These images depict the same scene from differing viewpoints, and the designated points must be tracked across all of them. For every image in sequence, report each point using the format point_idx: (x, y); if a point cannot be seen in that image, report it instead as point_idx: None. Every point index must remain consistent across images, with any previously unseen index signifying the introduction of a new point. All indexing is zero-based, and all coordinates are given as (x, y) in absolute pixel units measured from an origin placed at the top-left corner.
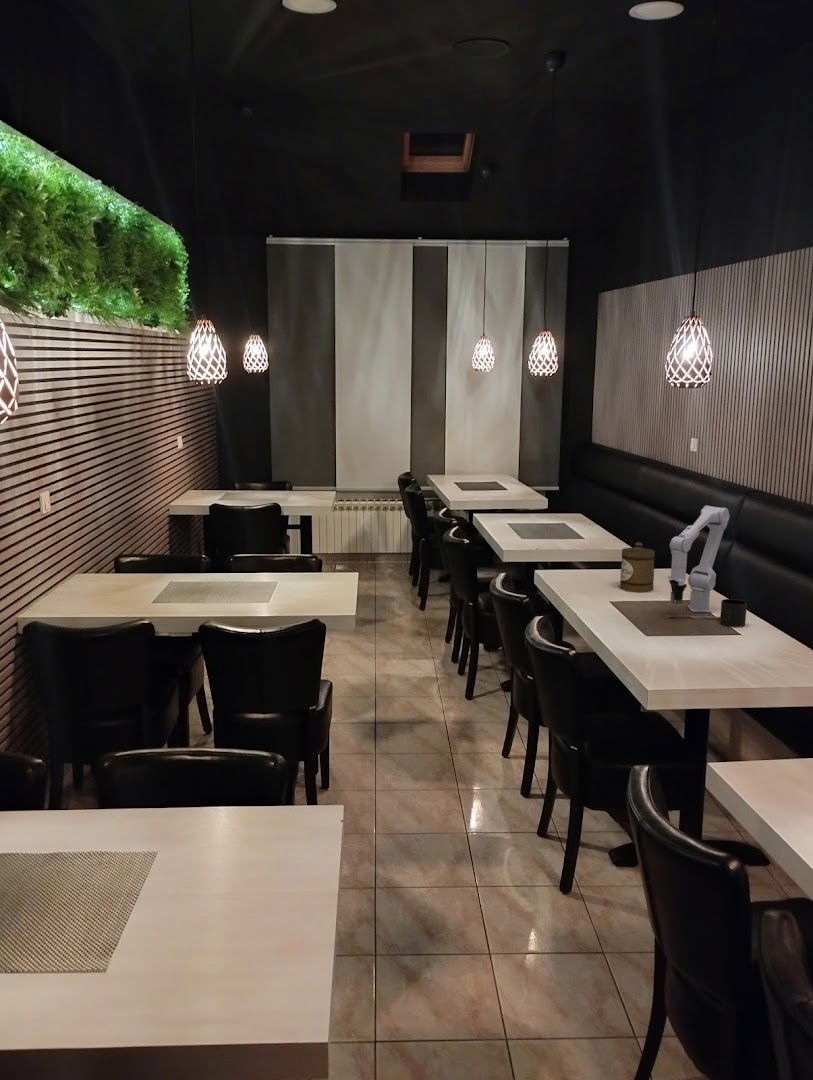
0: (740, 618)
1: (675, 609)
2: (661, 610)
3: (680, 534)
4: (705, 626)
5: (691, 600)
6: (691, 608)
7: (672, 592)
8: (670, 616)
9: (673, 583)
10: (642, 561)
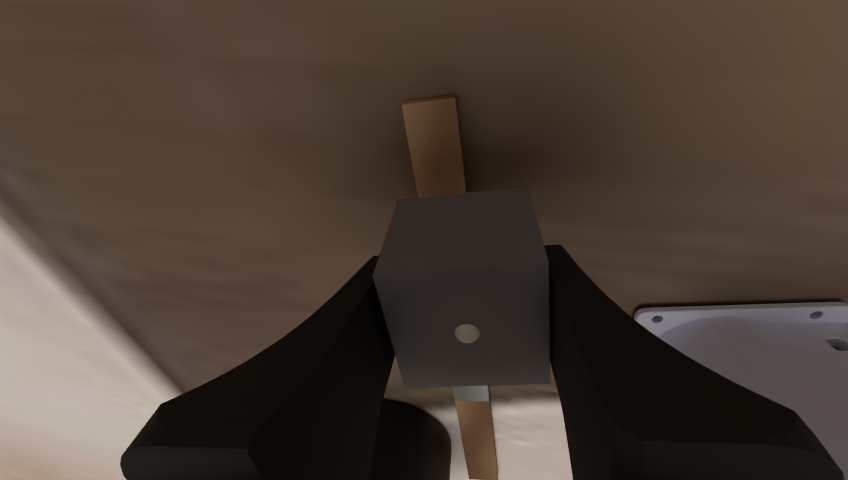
0: None
1: (739, 197)
2: (703, 50)
3: None
4: (272, 327)
5: (757, 372)
6: (705, 320)
7: (501, 281)
8: (407, 134)
9: (192, 469)
10: None
